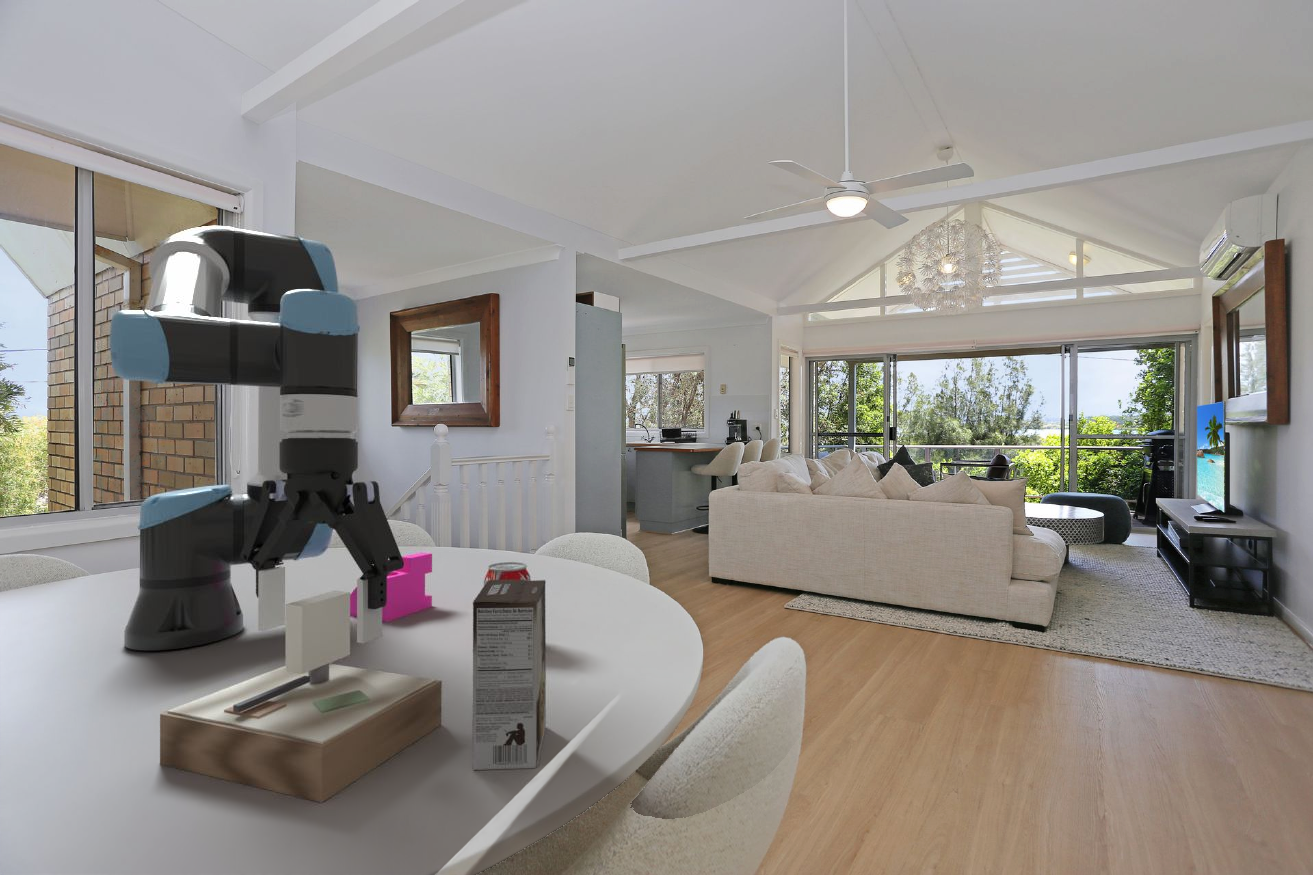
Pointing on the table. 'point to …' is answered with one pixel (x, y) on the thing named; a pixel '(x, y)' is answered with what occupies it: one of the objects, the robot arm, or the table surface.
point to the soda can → (507, 572)
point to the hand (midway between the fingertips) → (319, 633)
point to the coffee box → (509, 674)
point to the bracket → (404, 588)
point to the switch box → (301, 729)
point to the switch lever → (311, 641)
